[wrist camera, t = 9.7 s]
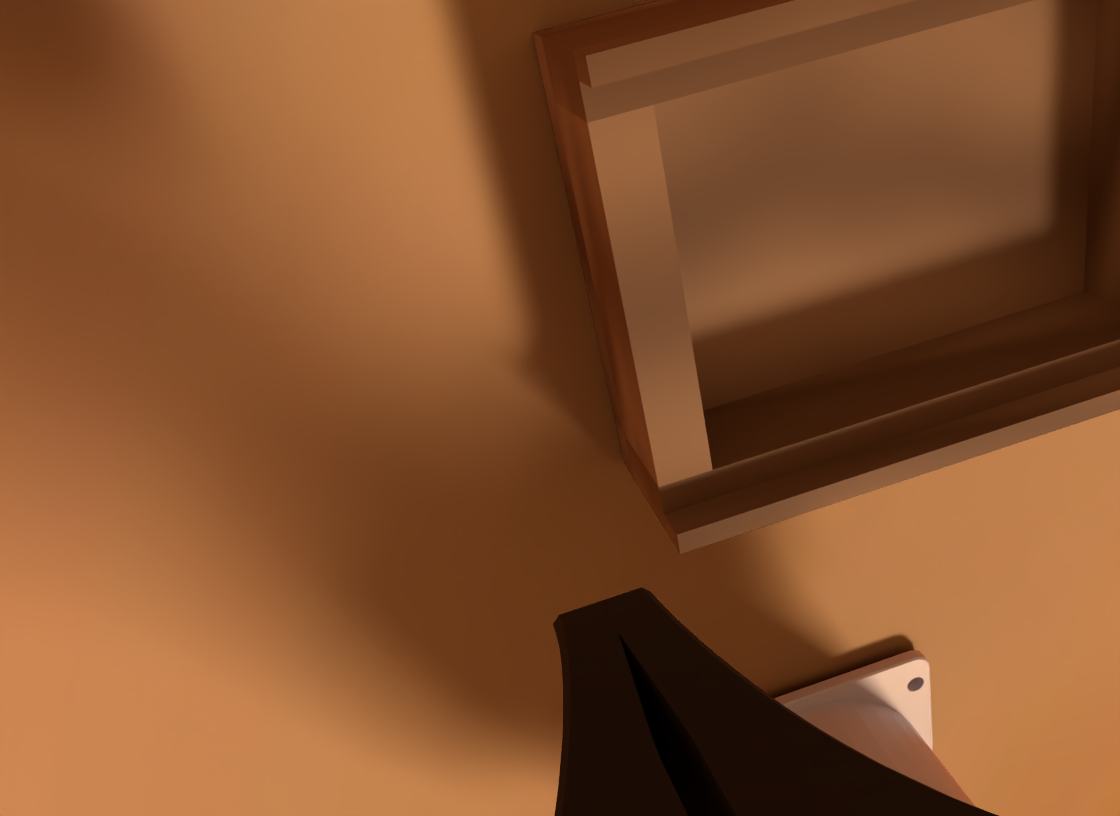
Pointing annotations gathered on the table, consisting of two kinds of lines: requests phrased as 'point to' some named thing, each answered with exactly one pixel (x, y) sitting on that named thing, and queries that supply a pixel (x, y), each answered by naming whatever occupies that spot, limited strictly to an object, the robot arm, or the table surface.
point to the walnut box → (839, 238)
